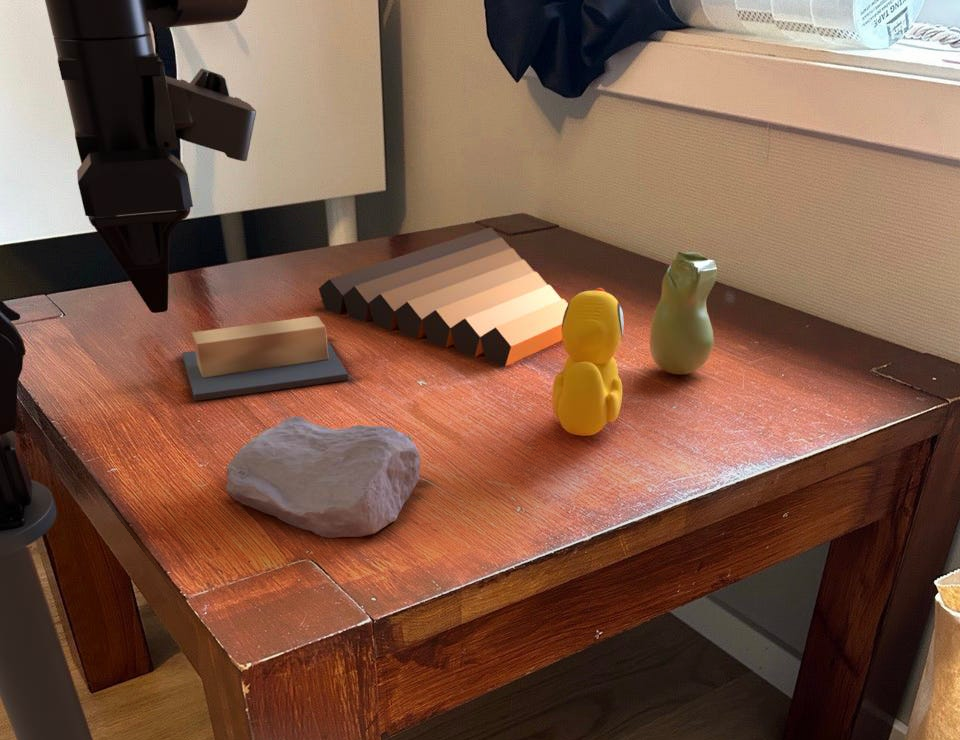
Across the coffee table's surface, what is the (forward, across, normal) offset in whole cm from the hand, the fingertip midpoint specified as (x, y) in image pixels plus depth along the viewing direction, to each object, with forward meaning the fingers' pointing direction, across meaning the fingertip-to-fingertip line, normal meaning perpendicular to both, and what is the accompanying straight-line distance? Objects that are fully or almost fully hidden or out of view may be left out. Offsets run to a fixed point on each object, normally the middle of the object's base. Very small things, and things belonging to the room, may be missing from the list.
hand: (154, 291), depth 69 cm
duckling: (+11, -9, -30) cm, 33 cm away
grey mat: (+11, +11, -8) cm, 17 cm away
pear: (+11, -2, -42) cm, 44 cm away
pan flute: (+11, +21, -33) cm, 41 cm away
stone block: (+11, -14, -8) cm, 20 cm away
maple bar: (+10, +11, -8) cm, 17 cm away
